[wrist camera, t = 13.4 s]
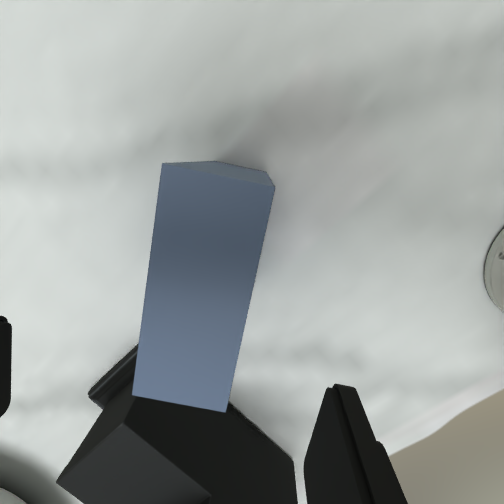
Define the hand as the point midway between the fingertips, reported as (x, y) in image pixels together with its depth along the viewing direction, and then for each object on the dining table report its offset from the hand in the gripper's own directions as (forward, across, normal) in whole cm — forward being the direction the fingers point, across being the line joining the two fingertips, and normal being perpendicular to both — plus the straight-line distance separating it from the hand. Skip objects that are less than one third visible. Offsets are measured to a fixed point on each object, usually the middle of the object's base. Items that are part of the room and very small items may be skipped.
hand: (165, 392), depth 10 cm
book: (+25, +1, 0) cm, 25 cm away
